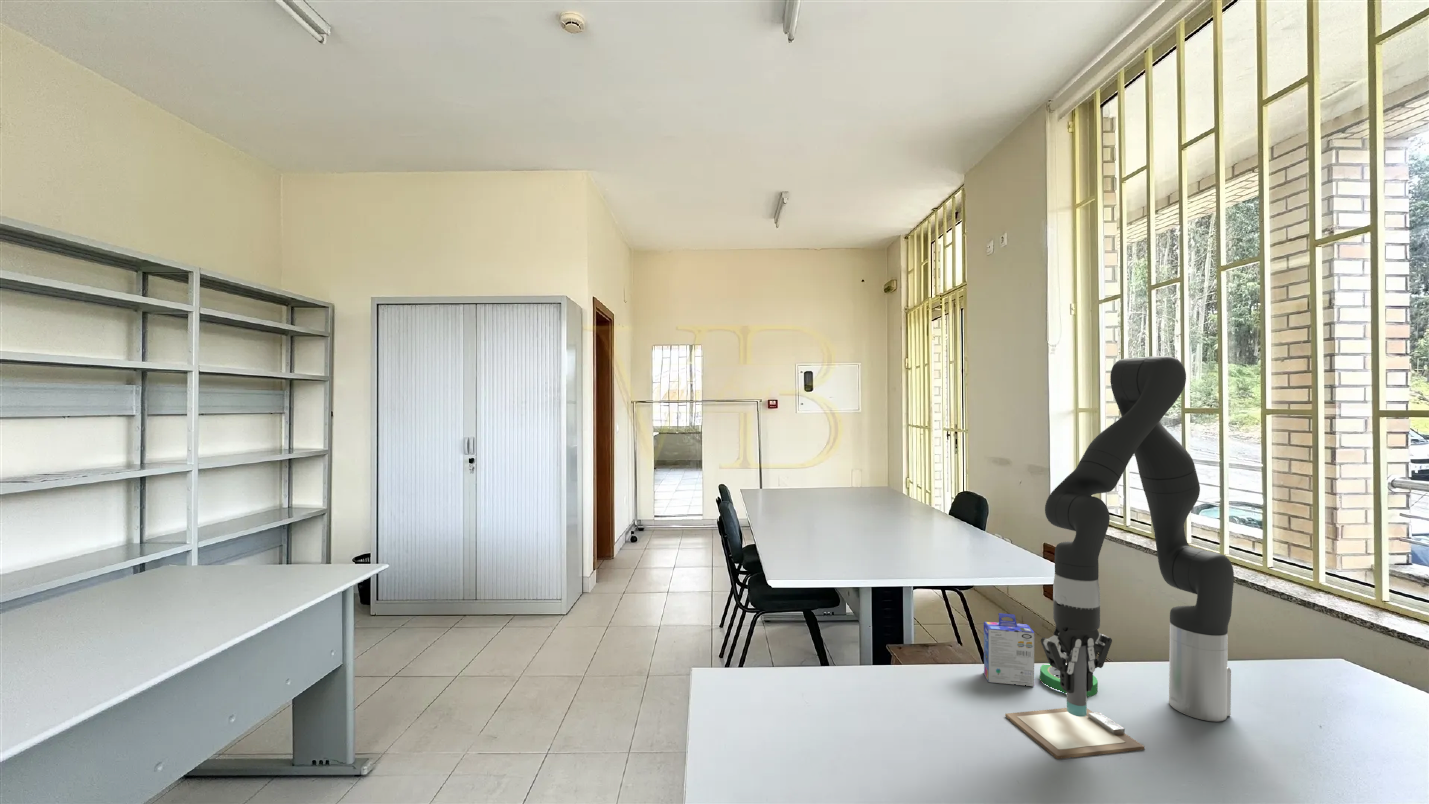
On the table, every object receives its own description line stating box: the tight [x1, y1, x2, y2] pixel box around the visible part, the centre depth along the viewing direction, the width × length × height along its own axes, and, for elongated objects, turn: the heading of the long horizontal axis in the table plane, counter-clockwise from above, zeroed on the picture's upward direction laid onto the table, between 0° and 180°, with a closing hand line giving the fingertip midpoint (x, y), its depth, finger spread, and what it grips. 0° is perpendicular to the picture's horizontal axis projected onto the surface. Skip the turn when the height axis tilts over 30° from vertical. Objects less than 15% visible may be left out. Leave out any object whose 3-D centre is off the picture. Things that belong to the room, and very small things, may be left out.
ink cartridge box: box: [983, 612, 1035, 687], centre depth 133 cm, size 10×6×14 cm, turn 78°
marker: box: [1066, 646, 1088, 717], centre depth 110 cm, size 3×3×13 cm
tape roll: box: [1039, 662, 1099, 697], centre depth 131 cm, size 11×11×3 cm
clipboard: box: [1004, 707, 1145, 760], centre depth 112 cm, size 18×14×2 cm
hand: (1076, 689), depth 110 cm, fingers closed on marker, 3 cm apart
